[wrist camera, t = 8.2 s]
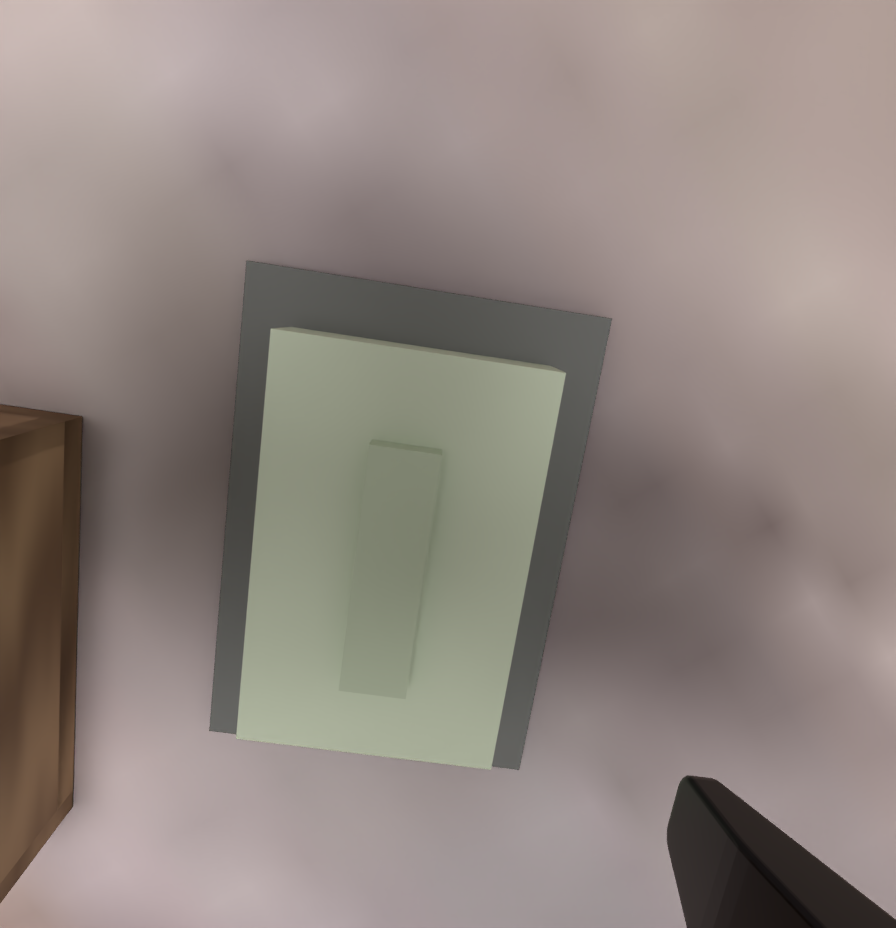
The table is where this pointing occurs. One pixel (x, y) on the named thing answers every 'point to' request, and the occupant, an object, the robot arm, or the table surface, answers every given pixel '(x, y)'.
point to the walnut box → (37, 628)
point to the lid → (391, 545)
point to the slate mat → (428, 325)
